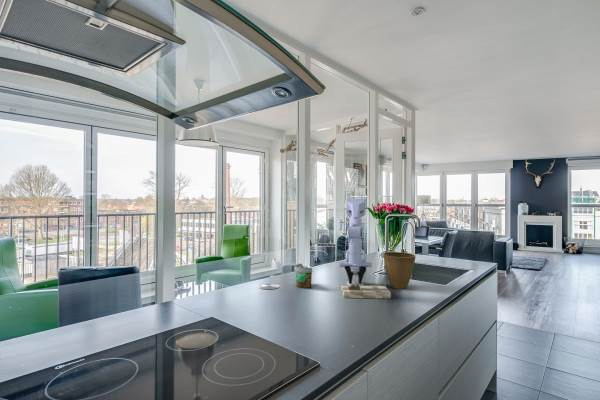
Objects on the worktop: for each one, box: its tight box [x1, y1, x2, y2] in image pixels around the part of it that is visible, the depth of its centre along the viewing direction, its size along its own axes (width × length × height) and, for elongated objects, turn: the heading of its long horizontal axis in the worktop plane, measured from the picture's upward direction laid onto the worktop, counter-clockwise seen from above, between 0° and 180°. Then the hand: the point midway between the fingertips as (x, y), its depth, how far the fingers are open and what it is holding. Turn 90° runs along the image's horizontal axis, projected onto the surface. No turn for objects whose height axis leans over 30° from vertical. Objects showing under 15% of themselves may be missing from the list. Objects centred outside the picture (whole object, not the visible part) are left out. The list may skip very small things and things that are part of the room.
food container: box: [293, 263, 313, 290], centre depth 154 cm, size 12×6×10 cm, turn 25°
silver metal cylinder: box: [351, 271, 360, 289], centre depth 142 cm, size 4×4×7 cm
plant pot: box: [383, 251, 416, 290], centre depth 154 cm, size 15×15×16 cm
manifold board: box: [341, 284, 392, 299], centre depth 142 cm, size 11×20×2 cm, turn 89°
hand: (355, 283), depth 142 cm, fingers closed on silver metal cylinder, 4 cm apart
